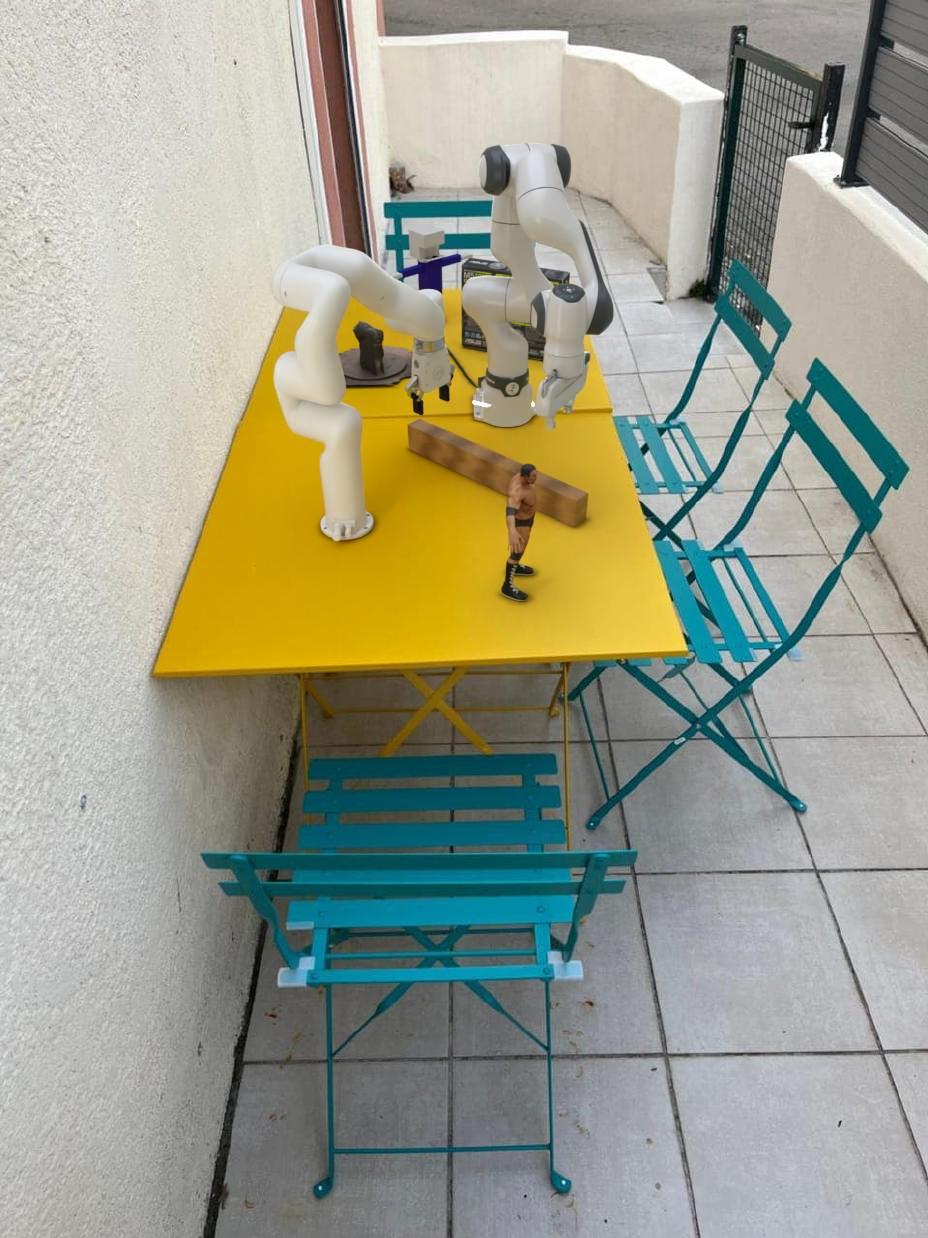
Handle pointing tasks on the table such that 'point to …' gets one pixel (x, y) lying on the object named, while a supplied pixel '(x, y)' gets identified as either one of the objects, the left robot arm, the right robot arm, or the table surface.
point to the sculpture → (374, 359)
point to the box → (536, 343)
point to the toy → (428, 257)
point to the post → (495, 470)
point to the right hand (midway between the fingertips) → (558, 421)
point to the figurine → (519, 526)
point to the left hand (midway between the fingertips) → (431, 406)
